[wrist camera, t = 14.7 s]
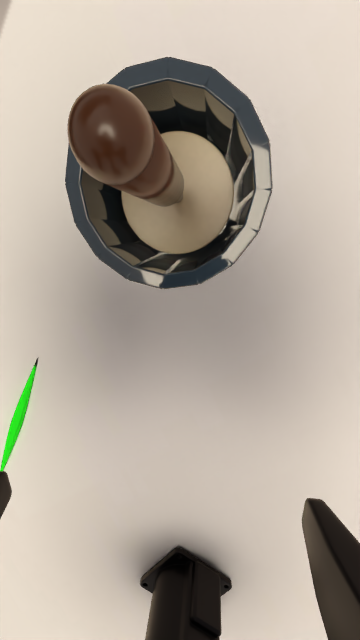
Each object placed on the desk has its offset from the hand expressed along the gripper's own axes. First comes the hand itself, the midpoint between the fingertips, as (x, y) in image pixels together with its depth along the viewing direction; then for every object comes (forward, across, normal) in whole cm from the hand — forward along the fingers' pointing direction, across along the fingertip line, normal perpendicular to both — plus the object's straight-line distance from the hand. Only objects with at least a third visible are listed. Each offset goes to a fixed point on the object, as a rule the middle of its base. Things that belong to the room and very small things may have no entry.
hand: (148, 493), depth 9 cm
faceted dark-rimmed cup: (+13, 0, -8) cm, 15 cm away
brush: (+13, 0, -8) cm, 15 cm away
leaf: (+13, +14, +9) cm, 21 cm away
